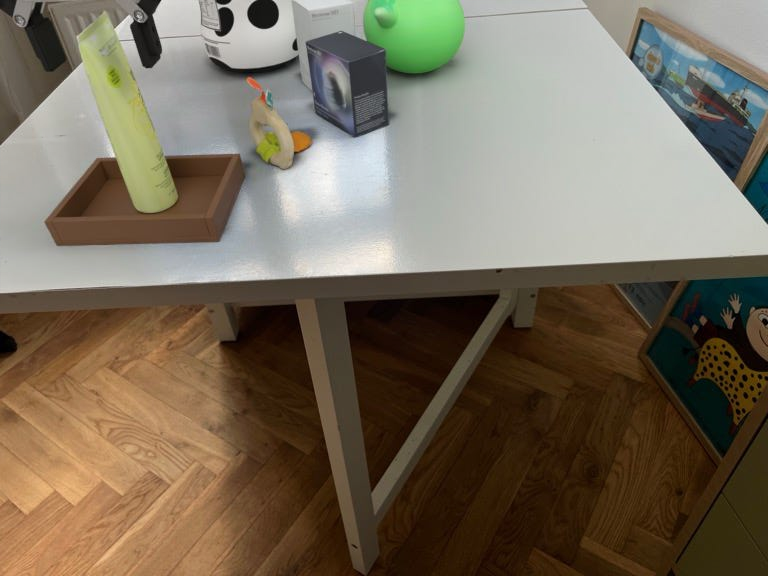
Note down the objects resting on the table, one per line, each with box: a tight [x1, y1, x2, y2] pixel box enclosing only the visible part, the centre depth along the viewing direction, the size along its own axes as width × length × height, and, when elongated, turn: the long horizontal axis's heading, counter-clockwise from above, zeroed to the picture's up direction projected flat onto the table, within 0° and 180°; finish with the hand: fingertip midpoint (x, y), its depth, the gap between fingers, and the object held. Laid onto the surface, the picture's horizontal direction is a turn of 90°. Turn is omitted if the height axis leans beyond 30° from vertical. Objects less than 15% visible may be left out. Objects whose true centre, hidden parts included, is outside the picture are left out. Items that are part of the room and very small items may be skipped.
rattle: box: [246, 76, 312, 170], centre depth 68 cm, size 8×8×12 cm
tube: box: [76, 10, 178, 213], centre depth 57 cm, size 6×5×20 cm
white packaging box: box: [291, 0, 357, 93], centre depth 85 cm, size 7×7×13 cm
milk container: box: [198, 0, 299, 73], centre depth 93 cm, size 17×17×18 cm
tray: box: [43, 153, 246, 247], centre depth 63 cm, size 18×14×3 cm
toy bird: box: [362, 0, 466, 74], centre depth 88 cm, size 18×17×15 cm
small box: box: [305, 31, 390, 138], centre depth 76 cm, size 11×6×10 cm, turn 37°
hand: (104, 64), depth 53 cm, fingers open, 9 cm apart
